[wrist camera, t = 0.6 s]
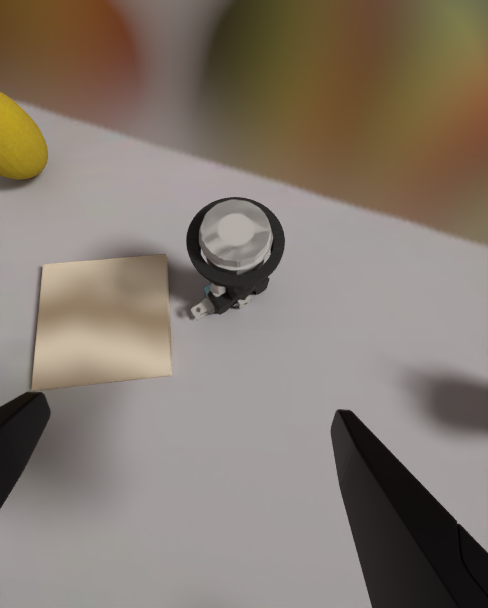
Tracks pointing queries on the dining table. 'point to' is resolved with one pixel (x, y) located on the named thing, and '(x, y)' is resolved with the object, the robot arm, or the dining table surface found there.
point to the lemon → (19, 142)
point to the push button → (233, 251)
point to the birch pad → (103, 322)
